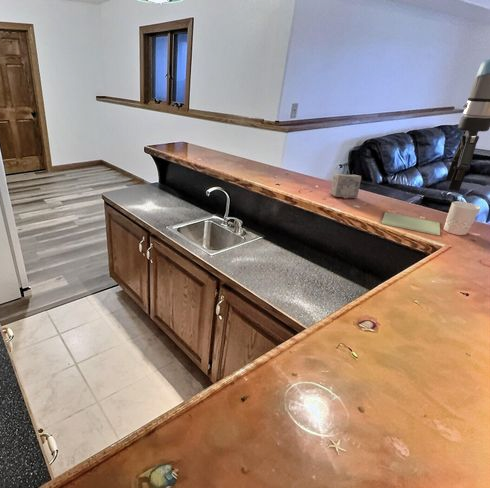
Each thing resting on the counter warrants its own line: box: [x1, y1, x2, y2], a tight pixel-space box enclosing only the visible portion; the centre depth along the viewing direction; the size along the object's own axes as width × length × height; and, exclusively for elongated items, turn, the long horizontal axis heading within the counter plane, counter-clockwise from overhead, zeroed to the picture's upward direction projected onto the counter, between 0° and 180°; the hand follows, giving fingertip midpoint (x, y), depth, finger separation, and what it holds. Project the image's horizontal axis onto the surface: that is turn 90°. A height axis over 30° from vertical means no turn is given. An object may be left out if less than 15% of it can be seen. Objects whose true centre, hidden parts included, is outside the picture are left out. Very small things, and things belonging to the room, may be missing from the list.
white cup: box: [443, 200, 481, 236], centre depth 123 cm, size 8×8×10 cm
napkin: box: [380, 211, 441, 237], centre depth 131 cm, size 18×14×1 cm
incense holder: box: [329, 172, 362, 200], centre depth 156 cm, size 10×8×10 cm
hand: (451, 184), depth 115 cm, fingers open, 13 cm apart
